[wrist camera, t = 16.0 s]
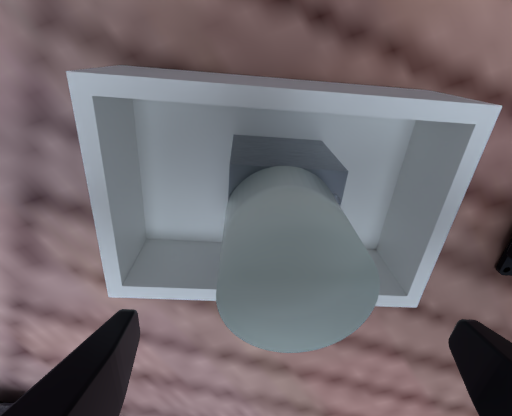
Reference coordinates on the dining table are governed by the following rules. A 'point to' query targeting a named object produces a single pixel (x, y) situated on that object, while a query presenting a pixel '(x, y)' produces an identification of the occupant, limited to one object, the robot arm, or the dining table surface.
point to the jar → (292, 264)
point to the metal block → (285, 160)
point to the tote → (267, 125)
